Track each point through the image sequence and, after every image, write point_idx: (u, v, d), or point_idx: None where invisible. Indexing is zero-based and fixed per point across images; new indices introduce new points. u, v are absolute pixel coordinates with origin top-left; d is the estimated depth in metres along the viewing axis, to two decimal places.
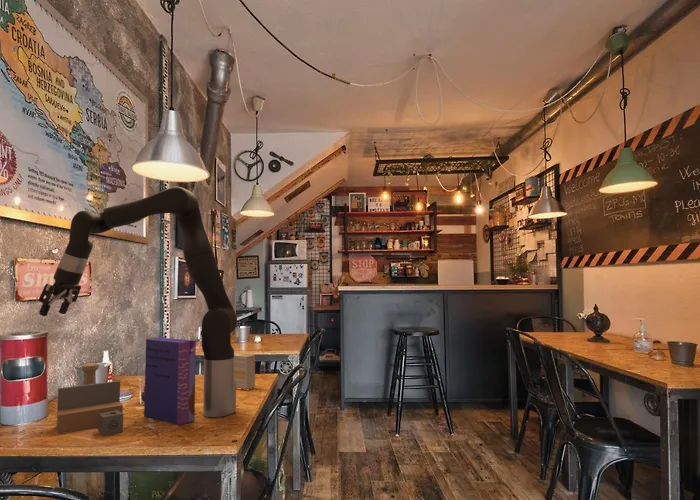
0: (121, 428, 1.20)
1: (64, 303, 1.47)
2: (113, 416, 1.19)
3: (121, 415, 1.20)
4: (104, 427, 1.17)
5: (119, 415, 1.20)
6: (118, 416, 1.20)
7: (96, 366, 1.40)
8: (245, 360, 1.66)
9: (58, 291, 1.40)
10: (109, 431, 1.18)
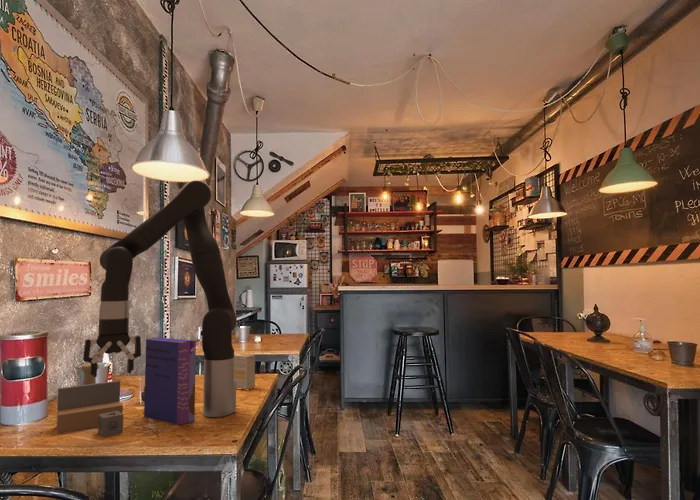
0: (121, 429, 1.20)
1: (96, 363, 1.20)
2: (113, 417, 1.18)
3: (121, 416, 1.20)
4: (104, 428, 1.17)
5: (119, 416, 1.19)
6: (118, 417, 1.19)
7: None
8: (245, 360, 1.66)
9: None
10: (109, 432, 1.17)
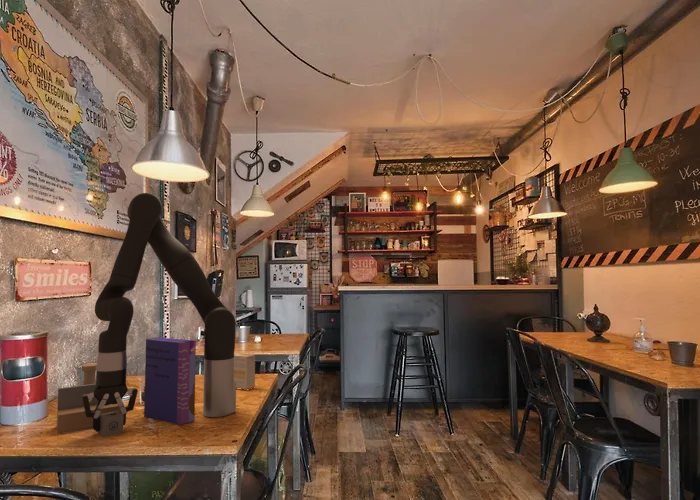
0: (121, 429, 1.19)
1: (99, 418, 1.19)
2: (113, 417, 1.18)
3: (121, 416, 1.19)
4: (104, 428, 1.16)
5: (119, 416, 1.19)
6: (118, 417, 1.19)
7: None
8: (245, 360, 1.66)
9: None
10: (109, 432, 1.17)
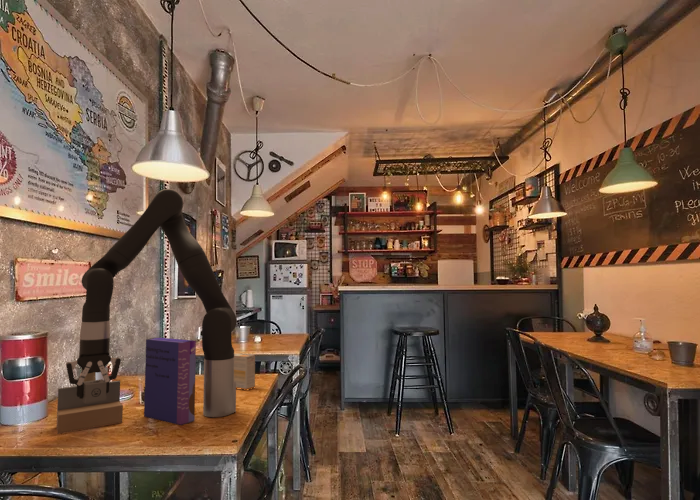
0: (104, 396, 1.23)
1: (82, 385, 1.23)
2: (96, 384, 1.21)
3: (104, 383, 1.23)
4: (87, 394, 1.20)
5: (102, 383, 1.22)
6: (101, 384, 1.22)
7: None
8: (245, 360, 1.66)
9: None
10: (92, 398, 1.21)
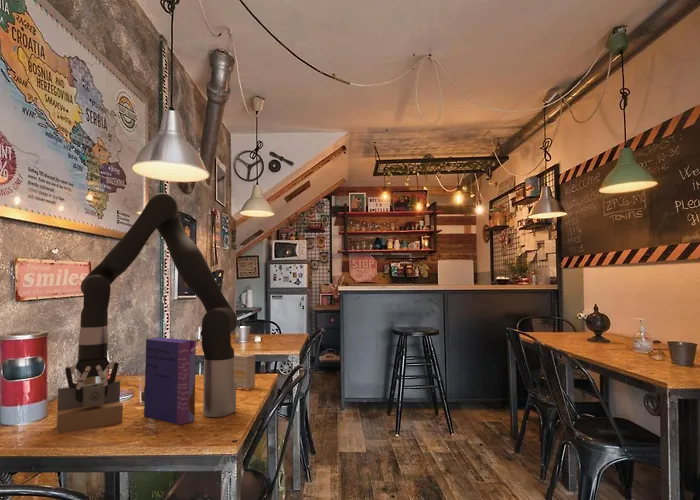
0: (103, 400, 1.25)
1: None
2: (95, 388, 1.24)
3: (103, 387, 1.26)
4: (86, 398, 1.23)
5: (101, 387, 1.25)
6: (100, 388, 1.25)
7: None
8: (245, 360, 1.66)
9: None
10: (91, 402, 1.23)
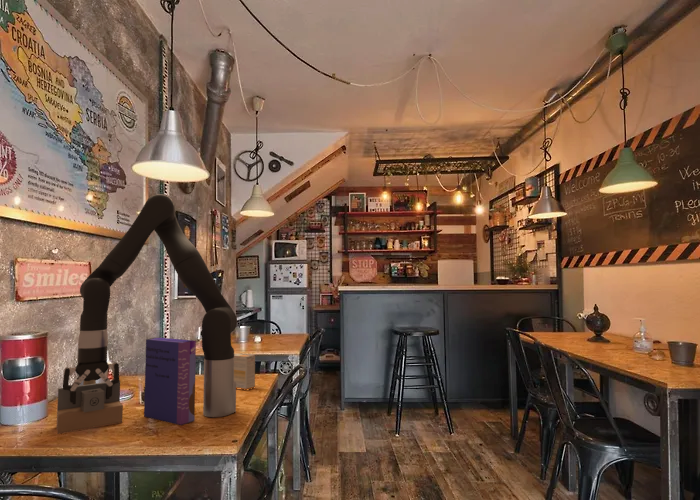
0: (102, 405, 1.25)
1: (75, 391, 1.24)
2: (94, 393, 1.24)
3: (102, 392, 1.25)
4: (85, 403, 1.22)
5: (100, 392, 1.25)
6: (99, 393, 1.25)
7: None
8: (245, 360, 1.66)
9: None
10: (90, 407, 1.23)
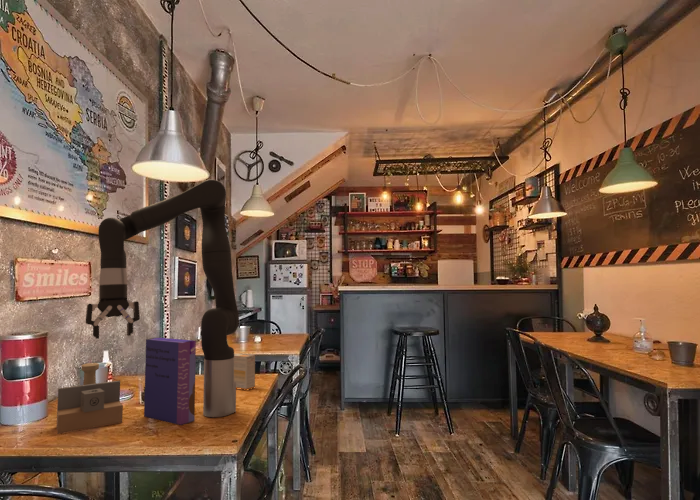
0: (102, 405, 1.25)
1: (98, 326, 1.28)
2: (94, 393, 1.24)
3: (102, 392, 1.25)
4: (85, 403, 1.22)
5: (100, 392, 1.25)
6: (99, 393, 1.25)
7: (96, 366, 1.40)
8: (245, 360, 1.66)
9: None
10: (90, 407, 1.23)
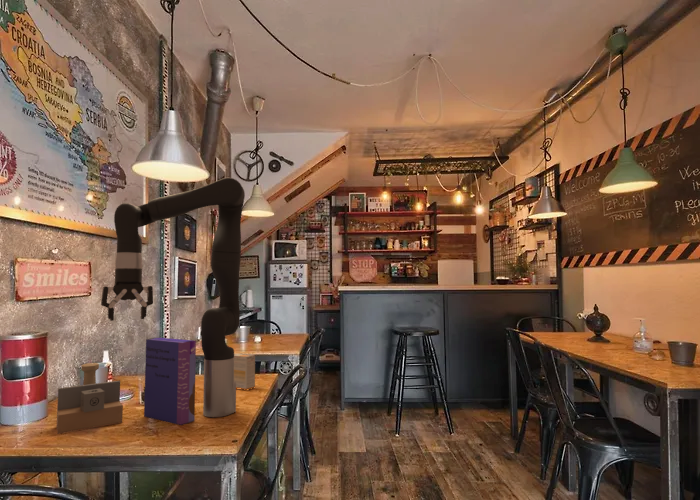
0: (102, 405, 1.25)
1: None
2: (94, 393, 1.24)
3: (102, 392, 1.25)
4: (85, 403, 1.22)
5: (100, 392, 1.25)
6: (99, 393, 1.25)
7: (96, 366, 1.40)
8: (245, 360, 1.66)
9: None
10: (90, 407, 1.23)
